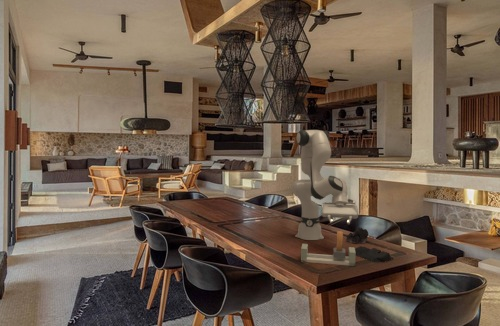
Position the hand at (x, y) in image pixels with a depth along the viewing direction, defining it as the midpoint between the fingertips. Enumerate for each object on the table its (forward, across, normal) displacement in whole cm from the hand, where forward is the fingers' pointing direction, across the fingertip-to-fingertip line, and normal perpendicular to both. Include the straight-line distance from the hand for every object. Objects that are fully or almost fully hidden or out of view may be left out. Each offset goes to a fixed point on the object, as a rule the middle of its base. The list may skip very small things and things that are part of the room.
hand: (339, 223), depth 210 cm
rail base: (+21, -6, +6) cm, 22 cm away
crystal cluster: (-12, +12, +38) cm, 42 cm away
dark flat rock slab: (+10, +18, +18) cm, 27 cm away
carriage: (+18, 0, +3) cm, 19 cm away
